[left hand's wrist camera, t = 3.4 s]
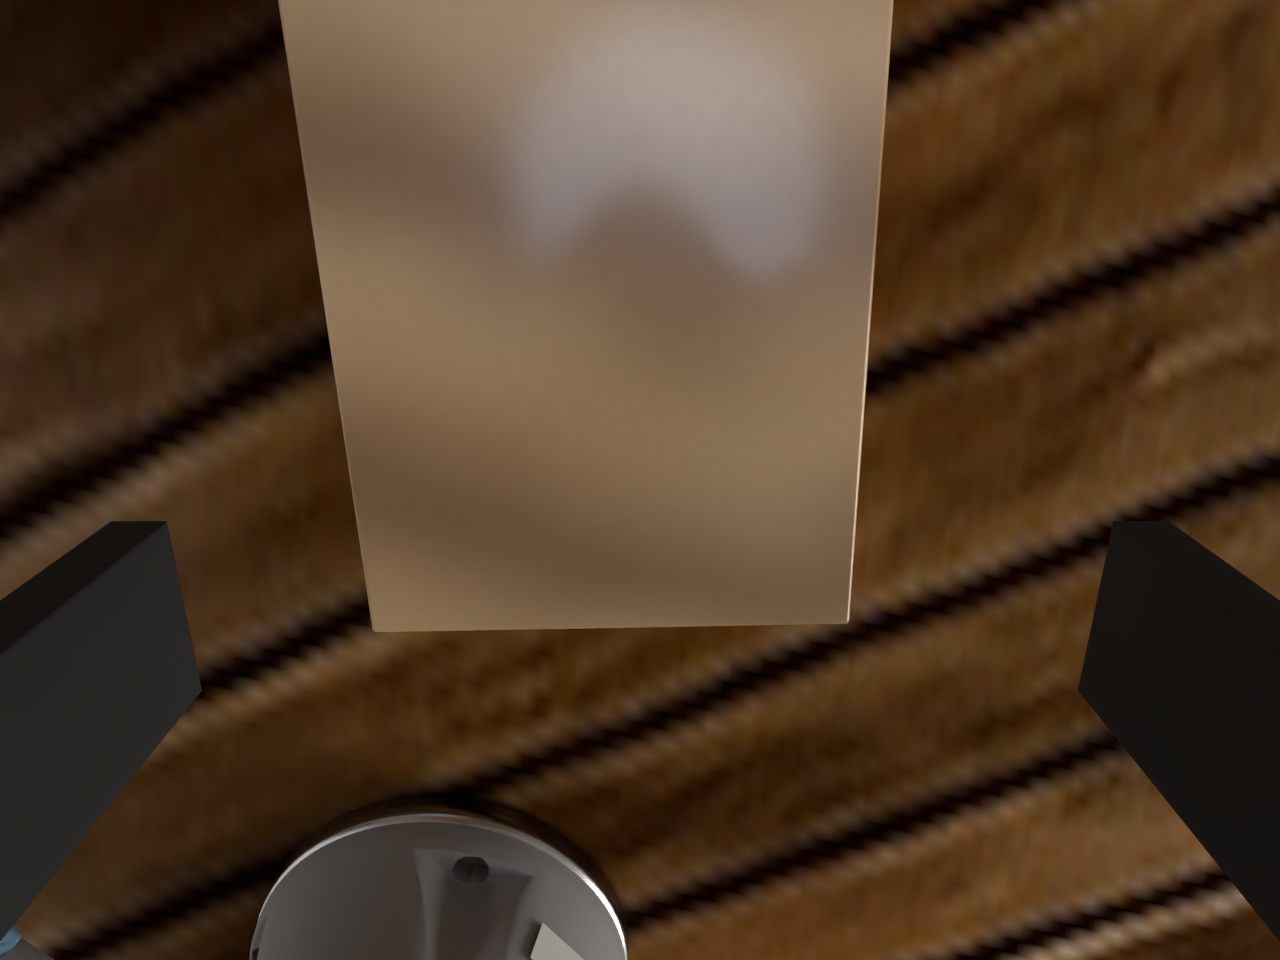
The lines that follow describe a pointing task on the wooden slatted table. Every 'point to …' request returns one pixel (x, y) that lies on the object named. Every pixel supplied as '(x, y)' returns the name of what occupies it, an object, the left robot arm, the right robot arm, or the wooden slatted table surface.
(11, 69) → the wooden slatted table surface
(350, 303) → the cabinet
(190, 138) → the wooden slatted table surface
